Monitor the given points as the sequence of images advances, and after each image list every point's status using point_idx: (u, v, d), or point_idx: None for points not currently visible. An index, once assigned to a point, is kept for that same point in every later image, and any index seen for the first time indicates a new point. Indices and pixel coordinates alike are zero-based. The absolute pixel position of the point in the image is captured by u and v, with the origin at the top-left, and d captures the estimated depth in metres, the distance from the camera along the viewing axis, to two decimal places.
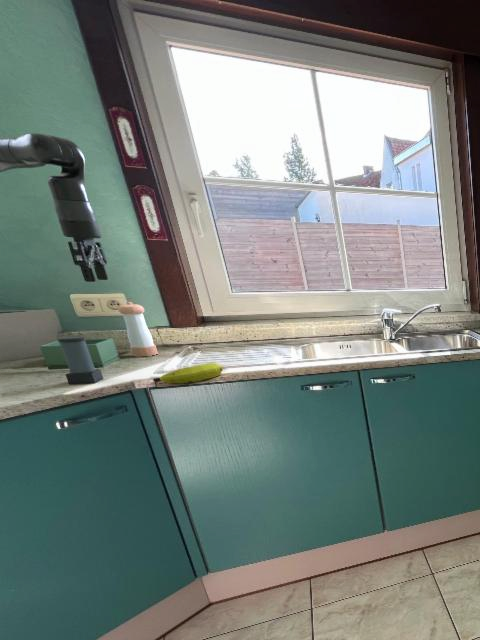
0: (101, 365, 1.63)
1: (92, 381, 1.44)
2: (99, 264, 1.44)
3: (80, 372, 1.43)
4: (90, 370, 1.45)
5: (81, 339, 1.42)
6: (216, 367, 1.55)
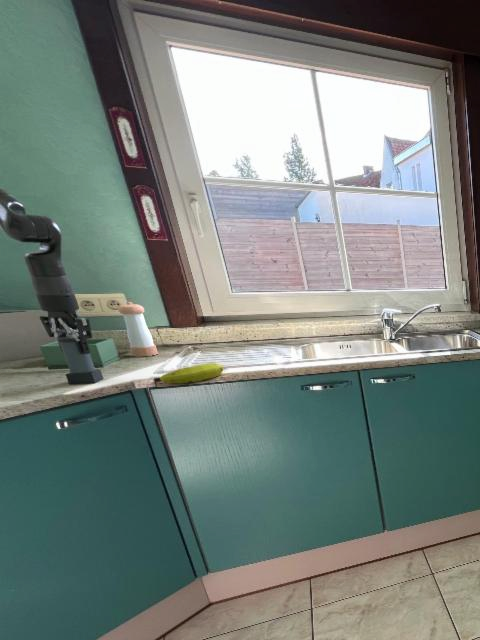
0: (101, 365, 1.63)
1: (92, 381, 1.44)
2: None
3: (80, 372, 1.43)
4: (90, 370, 1.45)
5: None
6: (216, 367, 1.55)
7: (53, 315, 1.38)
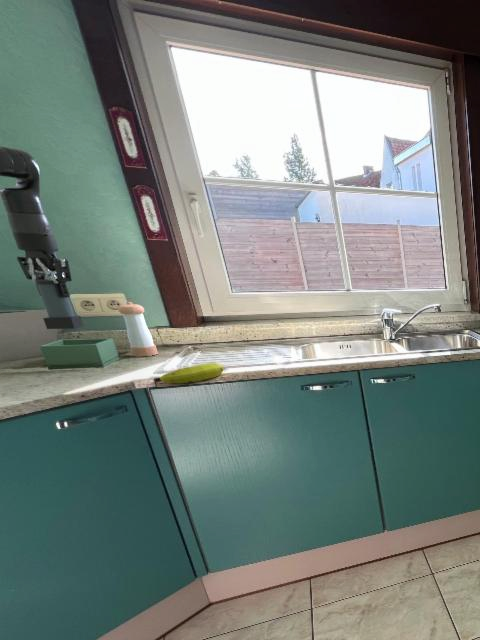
0: (101, 365, 1.63)
1: (71, 326, 1.40)
2: None
3: (59, 316, 1.38)
4: (69, 315, 1.40)
5: None
6: (216, 367, 1.55)
7: (31, 255, 1.34)
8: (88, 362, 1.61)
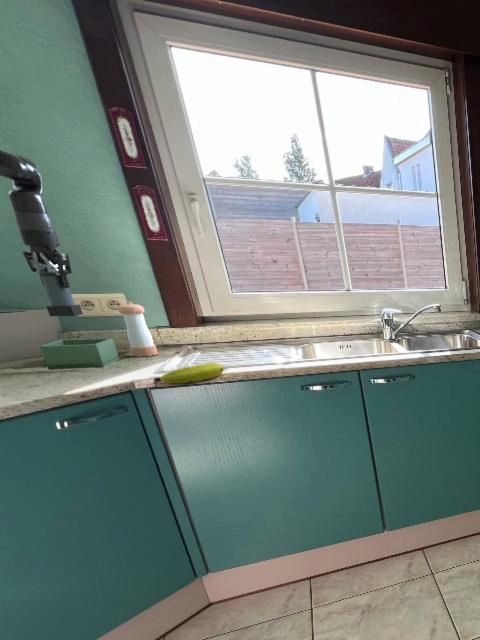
0: (101, 365, 1.63)
1: (71, 314, 1.56)
2: None
3: (60, 305, 1.54)
4: (70, 304, 1.56)
5: None
6: (217, 367, 1.55)
7: (35, 250, 1.50)
8: (88, 362, 1.61)
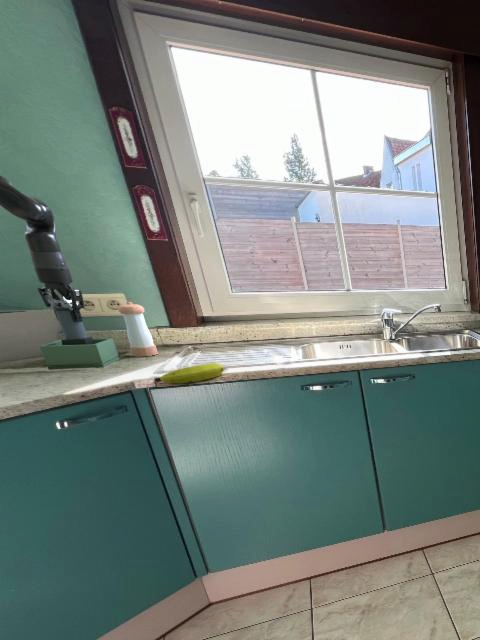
0: (101, 365, 1.63)
1: None
2: None
3: (74, 338, 1.61)
4: (83, 337, 1.63)
5: None
6: (217, 367, 1.55)
7: (49, 287, 1.56)
8: (88, 362, 1.61)
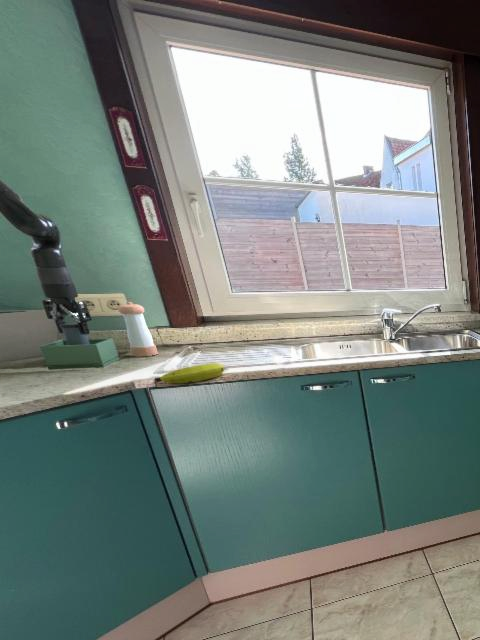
0: (101, 365, 1.63)
1: None
2: (60, 319, 1.62)
3: None
4: None
5: None
6: (217, 367, 1.55)
7: (55, 301, 1.58)
8: (88, 362, 1.61)
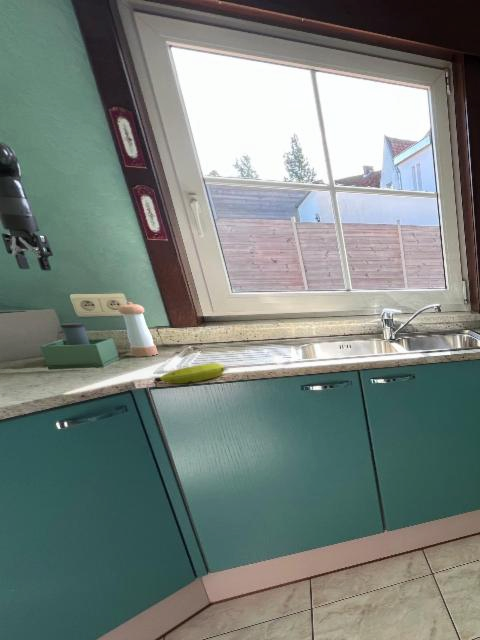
0: (101, 365, 1.63)
1: None
2: (21, 254, 1.56)
3: None
4: None
5: (81, 325, 1.62)
6: (217, 367, 1.55)
7: (14, 235, 1.52)
8: (88, 362, 1.61)
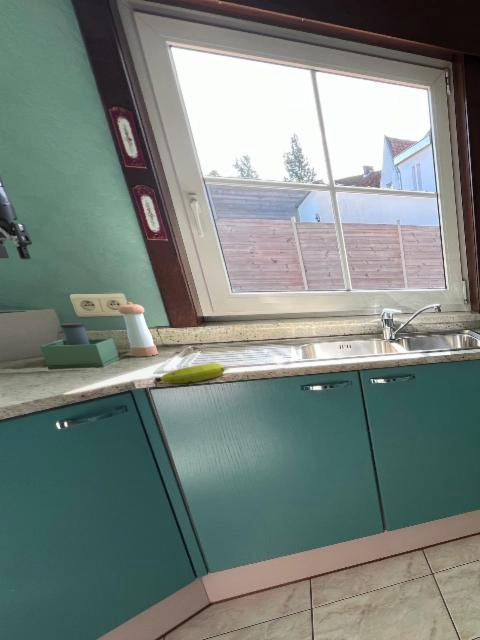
0: (101, 365, 1.63)
1: None
2: (0, 243, 1.56)
3: None
4: None
5: (81, 325, 1.62)
6: (217, 367, 1.55)
7: None
8: (88, 362, 1.61)
